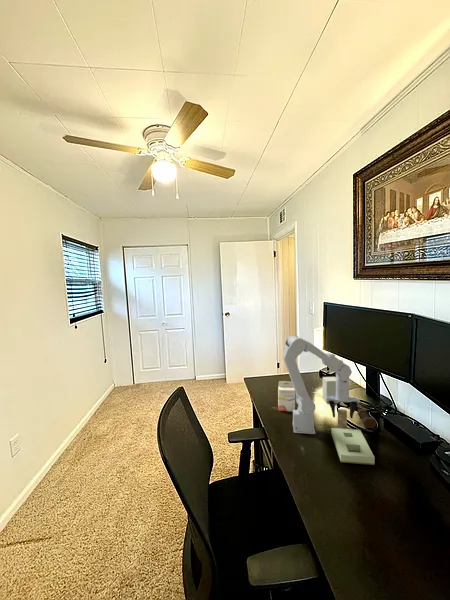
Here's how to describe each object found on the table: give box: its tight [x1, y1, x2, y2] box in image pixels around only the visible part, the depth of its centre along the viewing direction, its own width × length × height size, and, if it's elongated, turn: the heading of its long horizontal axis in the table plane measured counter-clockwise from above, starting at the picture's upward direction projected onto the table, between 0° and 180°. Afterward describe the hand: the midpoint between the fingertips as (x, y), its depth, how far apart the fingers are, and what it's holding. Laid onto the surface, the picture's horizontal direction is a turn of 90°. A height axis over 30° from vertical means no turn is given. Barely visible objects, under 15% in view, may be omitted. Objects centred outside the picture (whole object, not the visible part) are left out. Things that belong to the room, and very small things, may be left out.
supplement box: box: [322, 376, 340, 404], centre depth 168 cm, size 7×7×13 cm
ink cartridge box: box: [277, 380, 296, 412], centre depth 158 cm, size 9×5×15 cm, turn 84°
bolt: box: [356, 407, 377, 430], centre depth 144 cm, size 6×5×15 cm
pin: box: [337, 408, 348, 429], centre depth 139 cm, size 4×4×8 cm
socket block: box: [330, 427, 376, 466], centre depth 122 cm, size 12×20×3 cm, turn 170°
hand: (342, 416), depth 138 cm, fingers open, 7 cm apart
